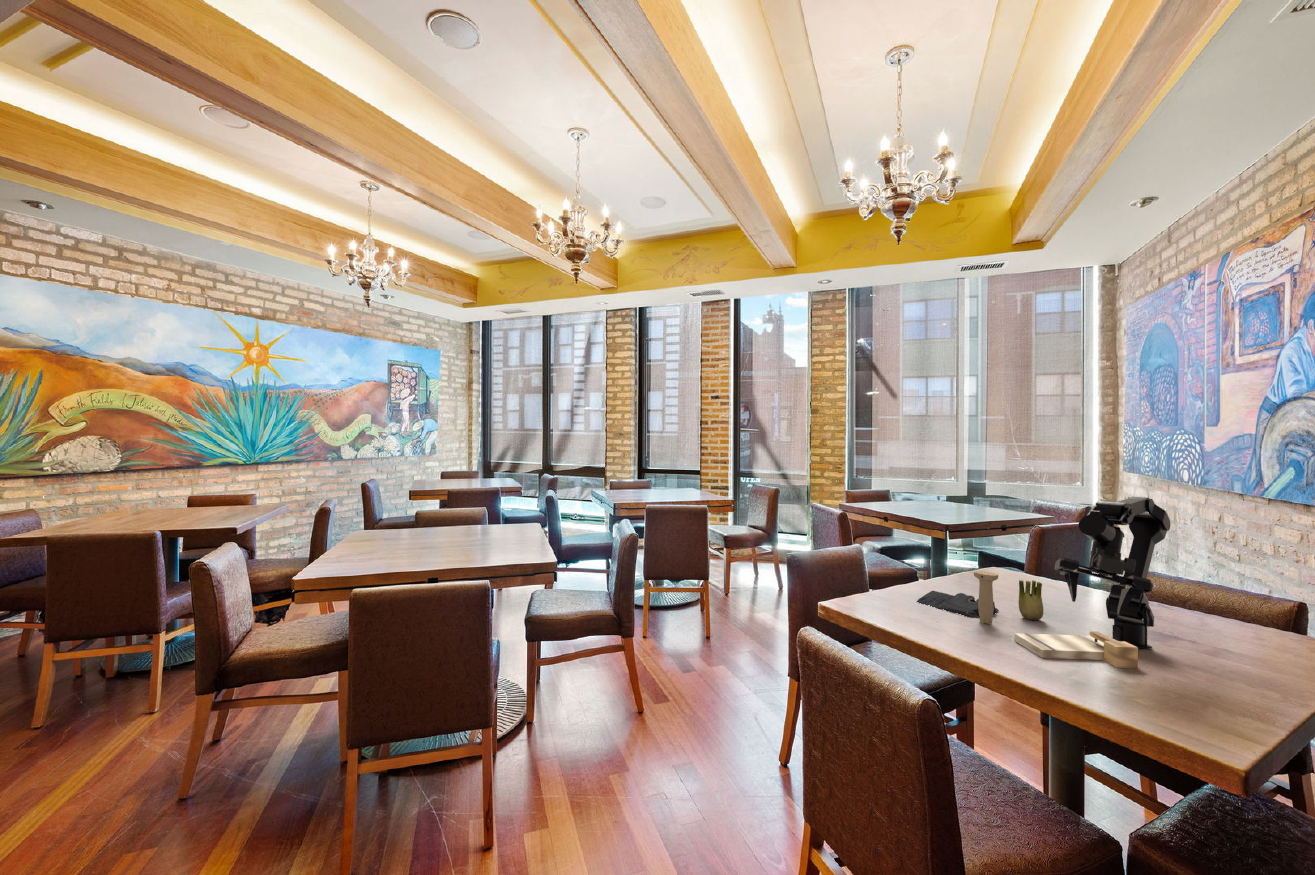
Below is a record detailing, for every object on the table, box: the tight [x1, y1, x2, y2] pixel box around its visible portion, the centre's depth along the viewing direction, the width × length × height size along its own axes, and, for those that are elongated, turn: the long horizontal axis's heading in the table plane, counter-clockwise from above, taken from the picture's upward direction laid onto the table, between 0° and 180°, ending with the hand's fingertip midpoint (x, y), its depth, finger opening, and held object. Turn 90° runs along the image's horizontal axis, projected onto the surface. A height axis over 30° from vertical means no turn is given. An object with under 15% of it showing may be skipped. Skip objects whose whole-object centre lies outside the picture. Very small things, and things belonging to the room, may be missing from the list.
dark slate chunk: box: [916, 590, 1000, 619], centre depth 181 cm, size 15×22×5 cm
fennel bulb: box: [1018, 579, 1044, 621], centre depth 168 cm, size 6×5×12 cm
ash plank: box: [1014, 632, 1104, 661], centre depth 143 cm, size 20×12×2 cm, turn 86°
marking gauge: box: [1089, 630, 1139, 669], centre depth 137 cm, size 5×11×5 cm, turn 176°
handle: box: [973, 570, 999, 625], centre depth 165 cm, size 5×6×15 cm
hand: (1096, 608), depth 136 cm, fingers open, 9 cm apart
